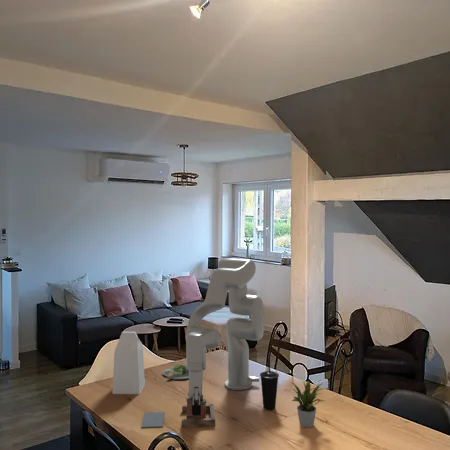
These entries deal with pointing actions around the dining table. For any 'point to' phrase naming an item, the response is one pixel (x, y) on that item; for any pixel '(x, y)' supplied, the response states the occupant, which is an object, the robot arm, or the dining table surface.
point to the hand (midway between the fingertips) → (196, 410)
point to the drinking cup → (269, 388)
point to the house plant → (307, 405)
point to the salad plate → (177, 372)
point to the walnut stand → (200, 421)
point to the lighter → (189, 408)
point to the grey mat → (153, 420)
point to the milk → (128, 365)
